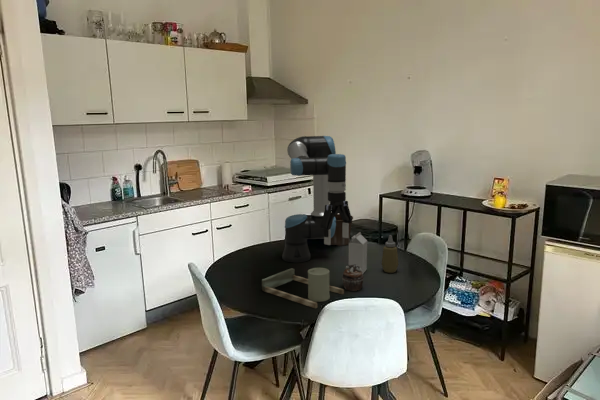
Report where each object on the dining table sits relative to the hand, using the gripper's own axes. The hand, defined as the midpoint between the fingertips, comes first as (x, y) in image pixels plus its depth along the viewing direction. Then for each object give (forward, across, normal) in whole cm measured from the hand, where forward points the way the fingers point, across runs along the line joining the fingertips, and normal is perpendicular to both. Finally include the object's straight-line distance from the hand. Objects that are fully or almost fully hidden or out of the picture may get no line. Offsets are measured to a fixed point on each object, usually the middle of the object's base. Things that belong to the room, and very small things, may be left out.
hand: (336, 241), depth 191 cm
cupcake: (+23, +8, -3) cm, 24 cm away
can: (+23, -10, +2) cm, 25 cm away
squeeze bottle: (+22, +37, -6) cm, 44 cm away
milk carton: (+22, +27, +6) cm, 36 cm away
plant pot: (+22, +63, +41) cm, 79 cm away
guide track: (+22, -10, +11) cm, 27 cm away
